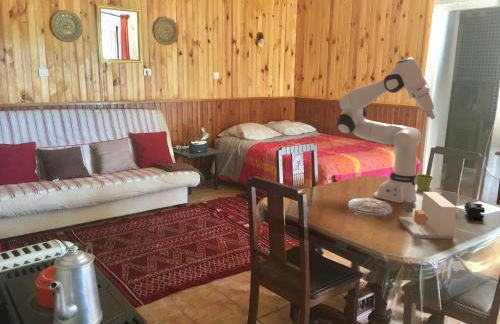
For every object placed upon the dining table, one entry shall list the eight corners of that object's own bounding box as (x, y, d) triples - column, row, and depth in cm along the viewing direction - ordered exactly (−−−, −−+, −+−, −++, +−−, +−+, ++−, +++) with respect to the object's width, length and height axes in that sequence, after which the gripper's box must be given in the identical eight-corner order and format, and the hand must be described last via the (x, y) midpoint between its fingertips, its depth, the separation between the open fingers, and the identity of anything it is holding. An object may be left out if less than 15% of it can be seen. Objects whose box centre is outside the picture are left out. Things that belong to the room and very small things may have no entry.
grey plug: (406, 212, 189) (407, 202, 188) (402, 208, 194) (403, 198, 193) (416, 212, 189) (417, 202, 187) (412, 209, 193) (413, 199, 192)
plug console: (413, 237, 174) (417, 206, 171) (398, 219, 195) (401, 191, 192) (452, 239, 173) (456, 207, 170) (433, 220, 194) (436, 192, 192)
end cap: (463, 213, 205) (465, 200, 204) (479, 215, 203) (481, 202, 201) (466, 220, 196) (468, 206, 195) (483, 222, 194) (485, 208, 192)
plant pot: (431, 189, 248) (432, 175, 246) (432, 193, 239) (433, 178, 237) (414, 187, 251) (415, 173, 249) (414, 191, 242) (416, 177, 240)
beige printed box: (454, 212, 206) (456, 193, 204) (439, 210, 209) (441, 191, 207) (455, 211, 209) (457, 192, 207) (440, 208, 212) (443, 189, 210)
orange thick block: (417, 225, 173) (418, 213, 172) (413, 220, 178) (414, 209, 177) (428, 225, 173) (429, 214, 172) (424, 221, 178) (425, 210, 177)
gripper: (409, 92, 201) (421, 118, 202) (414, 95, 182) (428, 123, 183) (422, 86, 199) (434, 112, 200) (429, 88, 180) (442, 116, 181)
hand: (431, 117), depth 191 cm, fingers open, 8 cm apart
